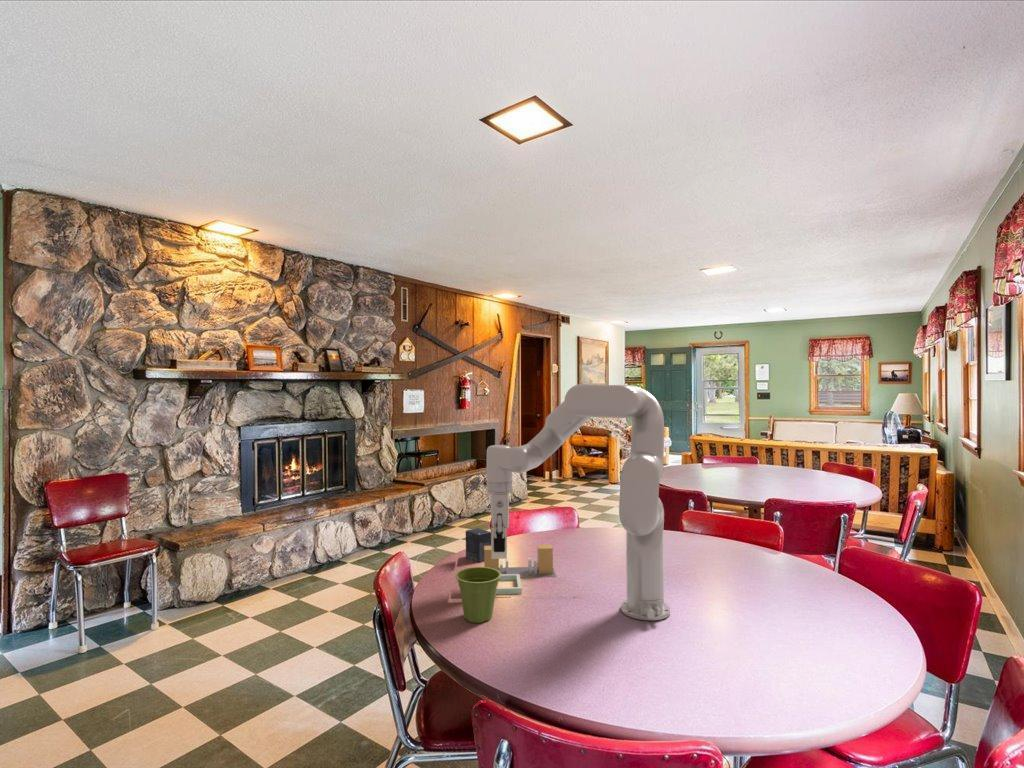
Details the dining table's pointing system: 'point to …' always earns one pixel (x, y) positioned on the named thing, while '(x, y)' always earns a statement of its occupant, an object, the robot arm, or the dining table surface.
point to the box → (477, 544)
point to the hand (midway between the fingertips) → (499, 548)
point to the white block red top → (493, 554)
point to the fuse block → (540, 567)
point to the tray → (510, 589)
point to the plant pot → (478, 592)
